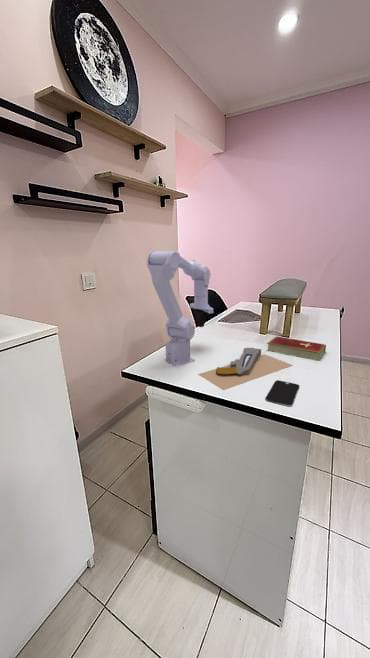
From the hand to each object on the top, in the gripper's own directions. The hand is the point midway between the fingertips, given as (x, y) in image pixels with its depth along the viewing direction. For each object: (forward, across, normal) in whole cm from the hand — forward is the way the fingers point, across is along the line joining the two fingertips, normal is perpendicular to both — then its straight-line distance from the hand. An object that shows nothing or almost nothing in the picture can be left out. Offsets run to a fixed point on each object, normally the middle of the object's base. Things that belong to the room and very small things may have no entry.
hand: (201, 326), depth 121 cm
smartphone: (+11, -46, +2) cm, 47 cm away
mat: (+11, -28, -1) cm, 30 cm away
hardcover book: (+11, -26, -31) cm, 42 cm away
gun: (+9, -19, -1) cm, 21 cm away
